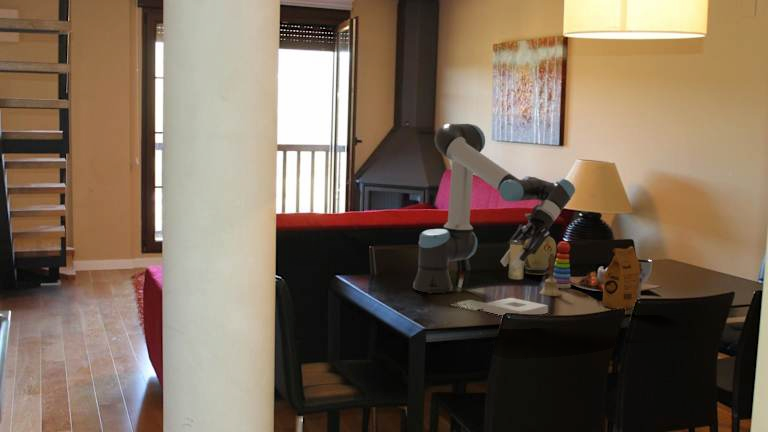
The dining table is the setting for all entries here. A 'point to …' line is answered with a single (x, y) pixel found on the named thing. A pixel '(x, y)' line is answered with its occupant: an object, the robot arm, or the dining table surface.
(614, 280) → the coffee package
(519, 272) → the beige cylinder
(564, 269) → the stacking toy
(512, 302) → the housing
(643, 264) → the wine glass
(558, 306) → the dining table surface
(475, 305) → the mat
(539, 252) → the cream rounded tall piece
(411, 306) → the dining table surface
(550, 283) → the hand bell
